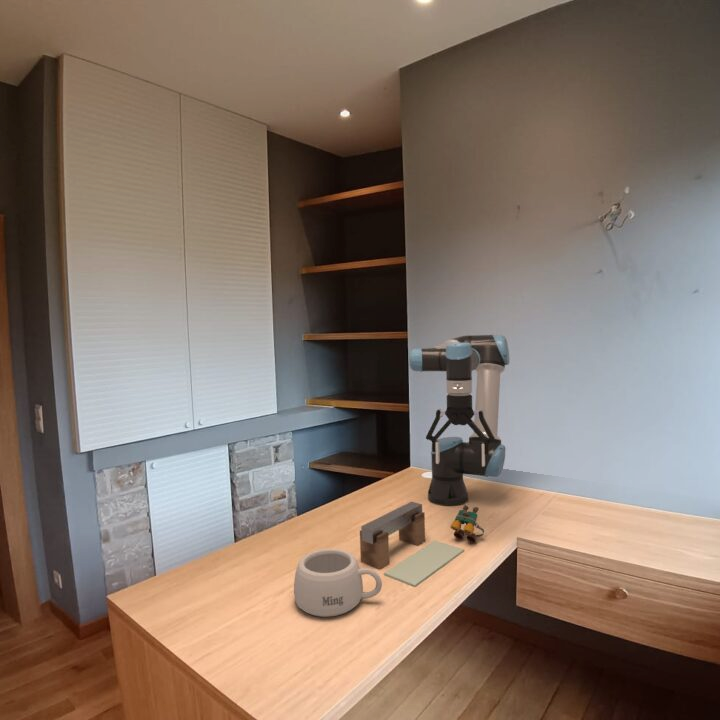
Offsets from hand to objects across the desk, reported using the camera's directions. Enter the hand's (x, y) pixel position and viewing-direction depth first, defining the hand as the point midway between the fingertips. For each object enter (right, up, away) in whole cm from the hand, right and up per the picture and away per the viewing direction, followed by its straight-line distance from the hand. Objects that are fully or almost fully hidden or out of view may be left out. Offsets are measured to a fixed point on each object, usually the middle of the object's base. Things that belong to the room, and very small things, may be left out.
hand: (460, 464), depth 145 cm
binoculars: (+2, -24, +2) cm, 24 cm away
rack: (-20, -25, -4) cm, 32 cm away
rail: (-20, -18, -4) cm, 27 cm away
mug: (-36, -27, -29) cm, 53 cm away
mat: (-12, -25, -11) cm, 30 cm away
